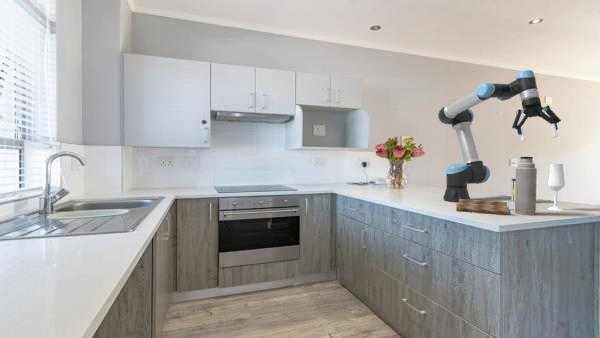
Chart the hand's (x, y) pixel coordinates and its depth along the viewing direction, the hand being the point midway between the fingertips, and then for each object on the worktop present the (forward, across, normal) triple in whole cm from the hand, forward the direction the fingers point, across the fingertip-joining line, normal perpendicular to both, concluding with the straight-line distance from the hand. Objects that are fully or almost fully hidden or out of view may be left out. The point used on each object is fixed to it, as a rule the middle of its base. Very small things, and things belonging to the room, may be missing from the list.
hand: (539, 138), depth 144 cm
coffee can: (+30, +3, +38) cm, 49 cm away
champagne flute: (+36, +7, +14) cm, 39 cm away
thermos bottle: (+37, -13, 0) cm, 39 cm away
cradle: (+34, -30, +5) cm, 45 cm away
